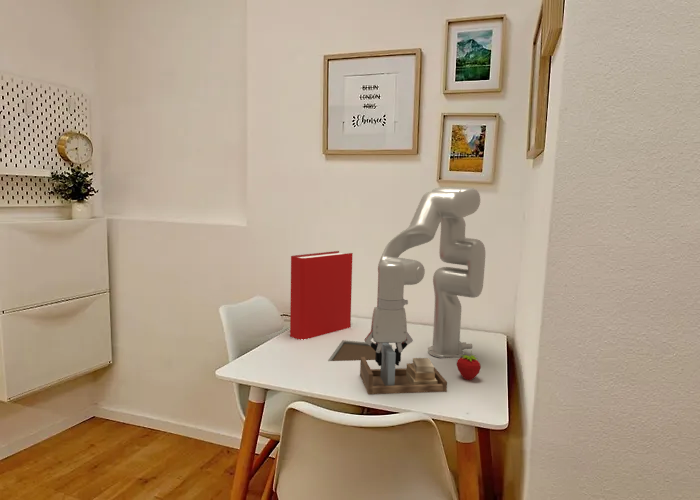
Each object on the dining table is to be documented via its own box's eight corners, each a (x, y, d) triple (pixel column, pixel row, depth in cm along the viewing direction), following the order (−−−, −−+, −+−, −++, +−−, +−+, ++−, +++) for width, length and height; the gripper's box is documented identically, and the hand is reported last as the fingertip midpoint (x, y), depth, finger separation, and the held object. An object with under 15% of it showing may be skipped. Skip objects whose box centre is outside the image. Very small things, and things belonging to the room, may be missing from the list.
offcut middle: (424, 369, 150) (425, 362, 149) (434, 379, 142) (435, 372, 142) (406, 370, 148) (406, 363, 148) (415, 380, 141) (415, 373, 140)
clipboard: (324, 364, 158) (343, 338, 187) (324, 369, 158) (343, 342, 187) (382, 370, 154) (393, 342, 183) (382, 375, 154) (392, 346, 183)
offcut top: (428, 364, 148) (429, 358, 148) (433, 373, 141) (433, 366, 141) (412, 364, 148) (412, 358, 147) (416, 373, 141) (416, 366, 140)
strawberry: (460, 376, 154) (462, 345, 153) (483, 382, 149) (485, 351, 148) (452, 381, 149) (453, 350, 148) (474, 388, 145) (476, 356, 143)
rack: (431, 376, 153) (432, 355, 152) (446, 395, 139) (447, 372, 138) (359, 378, 149) (360, 357, 149) (368, 398, 136) (368, 374, 135)
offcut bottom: (427, 376, 150) (428, 369, 150) (437, 388, 141) (437, 380, 141) (406, 376, 149) (406, 370, 149) (414, 388, 140) (414, 381, 140)
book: (337, 323, 211) (339, 250, 207) (350, 327, 205) (352, 252, 201) (288, 335, 191) (289, 256, 187) (301, 340, 186) (302, 258, 182)
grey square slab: (386, 376, 149) (388, 342, 147) (394, 390, 139) (395, 353, 137) (380, 377, 148) (381, 342, 147) (387, 390, 138) (388, 353, 137)
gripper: (414, 300, 145) (412, 359, 148) (359, 301, 143) (357, 360, 145) (421, 306, 138) (419, 368, 140) (363, 307, 136) (361, 369, 138)
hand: (387, 363), depth 143 cm, fingers open, 4 cm apart
